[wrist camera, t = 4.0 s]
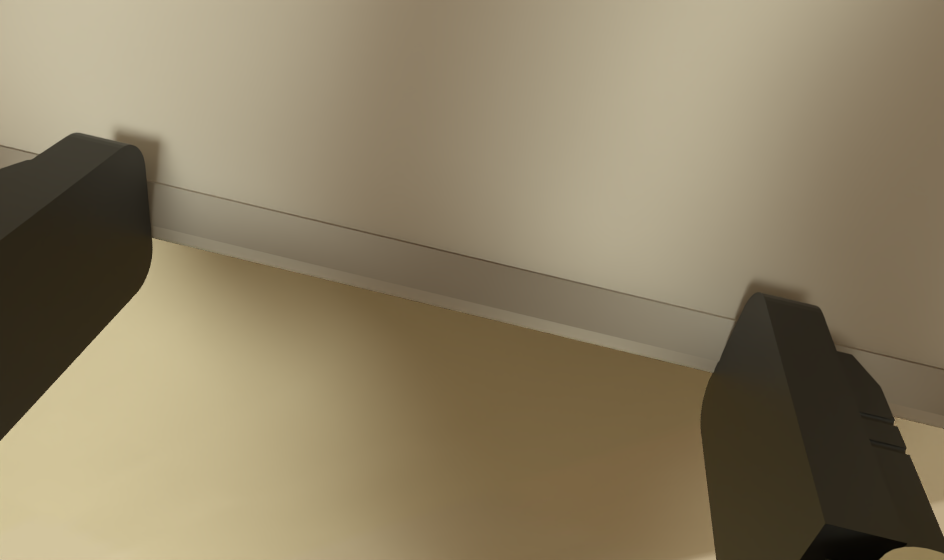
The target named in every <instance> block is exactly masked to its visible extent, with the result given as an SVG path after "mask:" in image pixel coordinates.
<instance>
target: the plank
mask: <svg viewBox="0 0 944 560" xmlns="http://www.w3.org/2000/svg"><path fill="white" fill-rule="evenodd" d="M76 132H77V133H84V134H88V135H92V136H97V137H101V138H105V139H109V140H114V141H118V142H122V143H127V144H131V145H134V146H136V147H137V148H139V150H140V151H141V152H142V155H143V157H144V161H145V167H146V178H147V189H148V201H149V212H150V223H151V235H152V238H155V239H160V240H164V241H168V242H172V243H176V244H180V245H184V246H189V247H193V248H197V249H201V250H205V251H209V252H213V253H218V254H222V255H226V256H230V257H234V258H238V259H243V260H247V261H251V262H255V263H259V264H263V265H267V266H272V267H276V268H280V269H284V270H288V271H292V272H296V273H301V274H305V275H309V276H313V277H317V278H321V279H325V280H330V281H334V282H338V283H342V284H346V285H350V286H354V287H359V288H363V289H367V290H371V291H375V292H379V293H383V294H388V295H392V296H396V297H400V298H404V299H408V300H413V301H417V302H421V303H425V304H429V305H433V306H437V307H442V308H446V309H450V310H454V311H458V312H462V313H466V314H471V315H475V316H479V317H483V318H487V319H491V320H495V321H500V322H504V323H508V324H512V325H516V326H520V327H524V328H529V329H533V330H537V331H541V332H545V333H549V334H554V335H558V336H562V337H566V338H570V339H574V340H578V341H583V342H587V343H591V344H595V345H599V346H603V347H607V348H612V349H616V350H620V351H624V352H628V353H632V354H636V355H641V356H645V357H649V358H653V359H657V360H661V361H665V362H670V363H674V364H678V365H682V366H686V367H690V368H694V369H699V370H703V371H707V372H711V373H714V370H715V367H716V365H717V363H718V362H719V361H720V358H721V355H722V353H723V350H724V348H725V346H726V344H727V342H728V340H729V338H730V336H731V334H732V332H733V329H734V327H735V325H736V323H737V321H738V319H739V317H740V315H741V313H742V310H743V308H744V306H745V305H746V303H747V301H748V300H749V298H750V297H751V296H752V295H753V294H754V293H757V292H761V293H765V294H769V295H773V296H778V297H782V298H786V299H791V300H795V301H799V302H804V303H808V304H812V305H816V306H818V307H819V308H820V309H821V310H822V312H823V315H824V318H825V320H826V323H827V326H828V328H829V331H830V334H831V337H832V339H833V342H834V345H835V347H836V350H837V351H839V352H844V353H848V354H852V355H853V356H854V357H855V358H856V359H857V361H858V362H859V363H860V364H861V365H862V366H863V367H864V368H865V370H866V371H867V372H868V373H869V374H870V375H871V376H872V377H873V379H874V380H875V381H876V382H877V383H878V384H879V385H880V386H881V388H882V391H883V393H884V395H885V398H886V400H887V403H888V405H889V407H890V410H891V412H892V415H893V416H894V417H898V418H902V419H906V420H910V421H914V422H918V423H923V424H927V425H931V426H935V427H939V428H943V429H944V0H0V169H1V168H4V167H7V166H10V165H13V164H16V163H19V162H22V161H25V160H32V159H33V158H35V157H36V156H38V155H39V154H41V153H42V152H44V151H45V150H47V149H48V148H50V147H51V146H53V145H54V144H56V143H57V142H59V141H60V140H62V139H63V138H65V137H66V136H68V135H70V134H72V133H76Z"/></svg>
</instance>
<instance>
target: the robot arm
mask: <svg viewBox="0 0 944 560" xmlns="http://www.w3.org/2000/svg"><path fill="white" fill-rule="evenodd" d="M152 250H153V249H152V235H151V223H150V212H149V201H148V189H147V178H146V167H145V161H144V157H143V155H142V152H141V151H140V150H139V148H137V147H136V146H134V145H131V144H127V143H122V142H118V141H114V140H109V139H105V138H101V137H97V136H92V135H88V134H84V133H77V132H76V133H72V134H70V135H68V136H66V137H65V138H63V139H62V140H60V141H59V142H57V143H56V144H54V145H53V146H51V147H50V148H48V149H47V150H45V151H44V152H42V153H41V154H39V155H38V156H36V157H35V158H33V159H32V160H25V161H22V162H19V163H16V164H13V165H10V166H7V167H4V168H1V169H0V441H1V439H2V438H3V437H4V436H5V435H6V434H7V433H8V432H9V431H10V430H11V429H12V428H13V426H14V425H15V424H16V423H17V422H18V421H19V420H20V419H21V418H22V417H23V416H24V415H25V413H26V412H27V411H28V410H29V409H30V408H31V407H32V406H33V405H34V404H35V403H36V402H37V400H38V399H39V398H40V397H41V396H42V395H43V394H44V393H45V392H46V391H47V390H48V388H49V387H50V386H51V385H52V384H53V383H54V382H55V381H56V380H57V379H58V378H59V377H60V375H61V374H62V373H63V372H64V371H65V370H66V369H67V368H68V367H69V366H70V365H71V364H72V362H73V361H74V360H75V359H76V358H77V357H78V356H79V355H80V354H81V353H82V352H83V351H84V349H85V348H86V347H87V346H88V345H89V344H90V343H91V342H92V341H93V340H94V339H95V338H96V336H97V335H98V334H99V333H100V332H101V331H102V330H103V329H104V328H105V327H106V326H107V325H108V323H109V322H110V321H111V320H112V319H113V318H114V317H115V316H116V315H117V314H118V313H119V312H120V310H121V309H122V308H123V307H124V306H125V305H126V304H127V303H128V302H129V301H130V300H131V299H132V297H133V296H134V295H135V294H136V293H137V292H138V291H139V289H140V288H141V286H142V285H143V283H144V281H145V279H146V277H147V274H148V271H149V268H150V264H151V259H152ZM894 421H895V419H894V417H893V415H892V412H891V410H890V407H889V405H888V403H887V400H886V398H885V395H884V393H883V391H882V388H881V386H880V385H879V384H878V383H877V382H876V381H875V380H874V379H873V377H872V376H871V375H870V374H869V373H868V372H867V371H866V370H865V368H864V367H863V366H862V365H861V364H860V363H859V362H858V361H857V359H856V358H855V357H854V356H853V355H852V354H848V353H844V352H839V351H837V350H836V347H835V345H834V342H833V339H832V337H831V334H830V331H829V328H828V326H827V323H826V320H825V318H824V315H823V312H822V310H821V309H820V308H819V307H818V306H816V305H812V304H808V303H804V302H799V301H795V300H791V299H786V298H782V297H778V296H773V295H769V294H765V293H761V292H757V293H754V294H753V295H752V296H751V297H750V298H749V300H748V301H747V303H746V305H745V306H744V308H743V310H742V313H741V315H740V317H739V319H738V321H737V323H736V325H735V327H734V329H733V332H732V334H731V336H730V338H729V340H728V342H727V344H726V346H725V348H724V350H723V353H722V355H721V358H720V361H719V362H718V363H717V365H716V367H715V370H714V373H713V374H712V376H711V378H710V380H709V382H708V385H707V388H706V391H705V395H704V399H703V404H702V410H701V435H702V444H703V452H704V460H705V469H706V477H707V485H708V494H709V502H710V510H711V519H712V527H713V536H714V544H715V552H716V560H944V536H943V534H942V532H941V530H940V527H939V524H938V522H937V520H936V517H935V515H934V513H933V510H932V508H931V505H930V503H929V501H928V498H927V496H926V493H925V491H924V489H923V486H922V484H921V481H920V479H919V477H918V474H917V472H916V470H915V467H914V465H913V462H912V460H911V458H910V455H907V454H905V450H906V446H905V443H904V441H903V438H902V436H901V434H900V431H899V429H898V427H897V426H894Z"/></svg>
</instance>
